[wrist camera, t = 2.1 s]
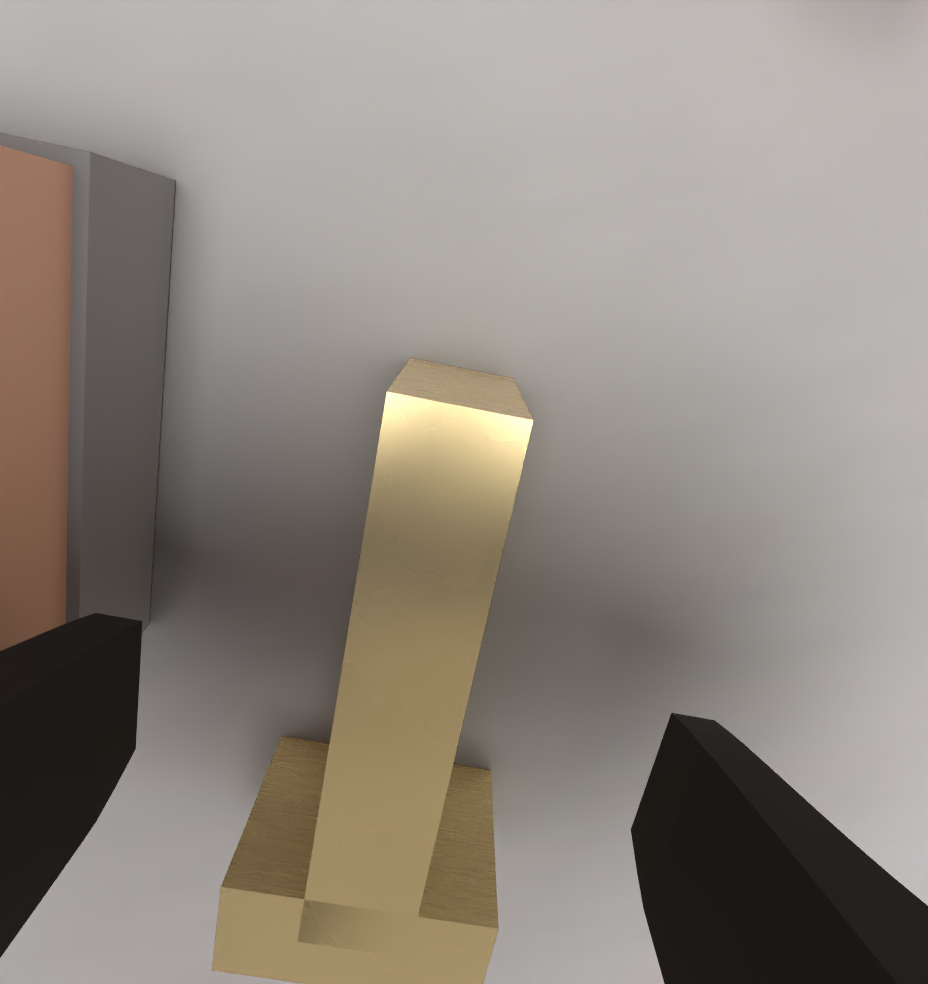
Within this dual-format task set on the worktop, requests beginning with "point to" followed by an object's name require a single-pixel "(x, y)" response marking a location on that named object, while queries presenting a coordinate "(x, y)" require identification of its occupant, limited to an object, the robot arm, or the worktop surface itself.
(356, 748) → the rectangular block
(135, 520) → the housing
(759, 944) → the robot arm
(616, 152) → the worktop surface
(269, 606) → the worktop surface
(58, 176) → the cover
